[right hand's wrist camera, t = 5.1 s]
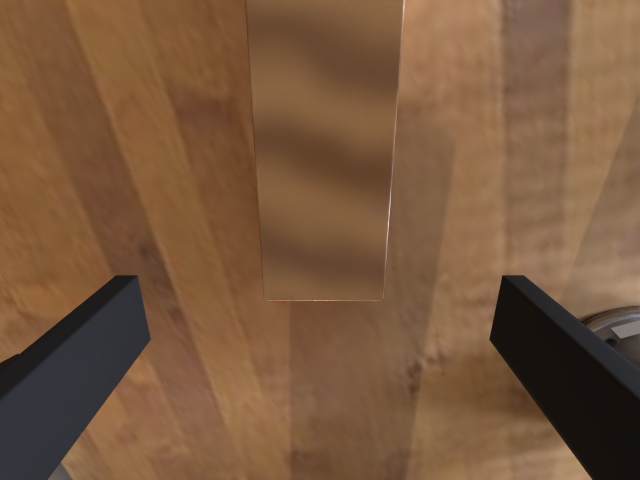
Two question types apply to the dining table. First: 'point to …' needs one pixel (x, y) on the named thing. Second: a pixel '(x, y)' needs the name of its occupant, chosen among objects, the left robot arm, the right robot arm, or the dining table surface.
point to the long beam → (324, 143)
